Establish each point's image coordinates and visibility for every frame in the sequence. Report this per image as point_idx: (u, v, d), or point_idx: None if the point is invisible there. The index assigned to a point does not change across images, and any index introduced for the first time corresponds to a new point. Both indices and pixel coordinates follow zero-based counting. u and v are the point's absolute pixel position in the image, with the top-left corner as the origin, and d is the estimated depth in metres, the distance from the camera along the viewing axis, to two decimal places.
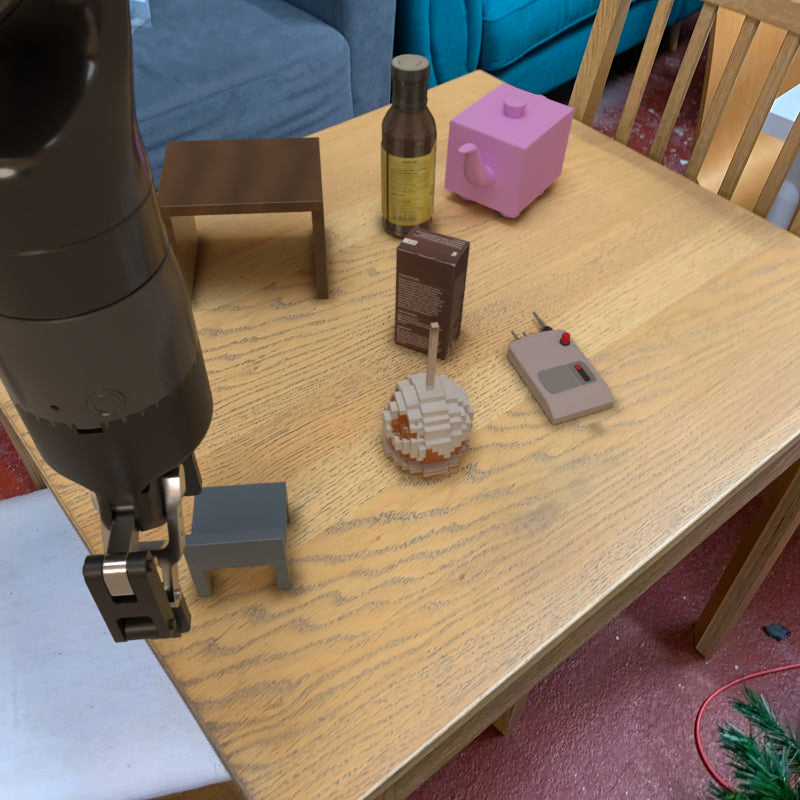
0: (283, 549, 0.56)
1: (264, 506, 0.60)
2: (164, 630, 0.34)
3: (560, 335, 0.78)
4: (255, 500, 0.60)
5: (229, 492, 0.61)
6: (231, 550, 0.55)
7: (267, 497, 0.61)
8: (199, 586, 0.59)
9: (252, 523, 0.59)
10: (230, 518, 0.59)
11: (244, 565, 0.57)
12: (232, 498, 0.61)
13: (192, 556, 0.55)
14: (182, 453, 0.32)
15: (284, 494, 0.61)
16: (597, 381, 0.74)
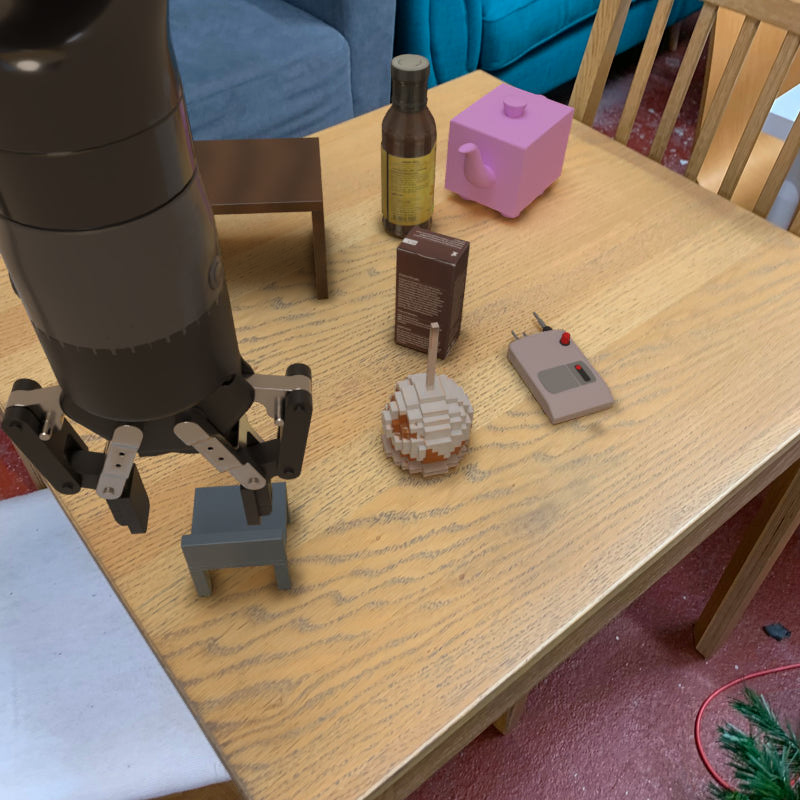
0: (283, 549, 0.56)
1: None
2: None
3: (560, 335, 0.78)
4: None
5: (229, 492, 0.61)
6: (231, 550, 0.55)
7: None
8: (199, 586, 0.59)
9: None
10: (230, 518, 0.59)
11: (244, 565, 0.57)
12: (232, 498, 0.61)
13: (192, 556, 0.55)
14: (71, 397, 0.30)
15: (284, 494, 0.61)
16: (597, 381, 0.74)
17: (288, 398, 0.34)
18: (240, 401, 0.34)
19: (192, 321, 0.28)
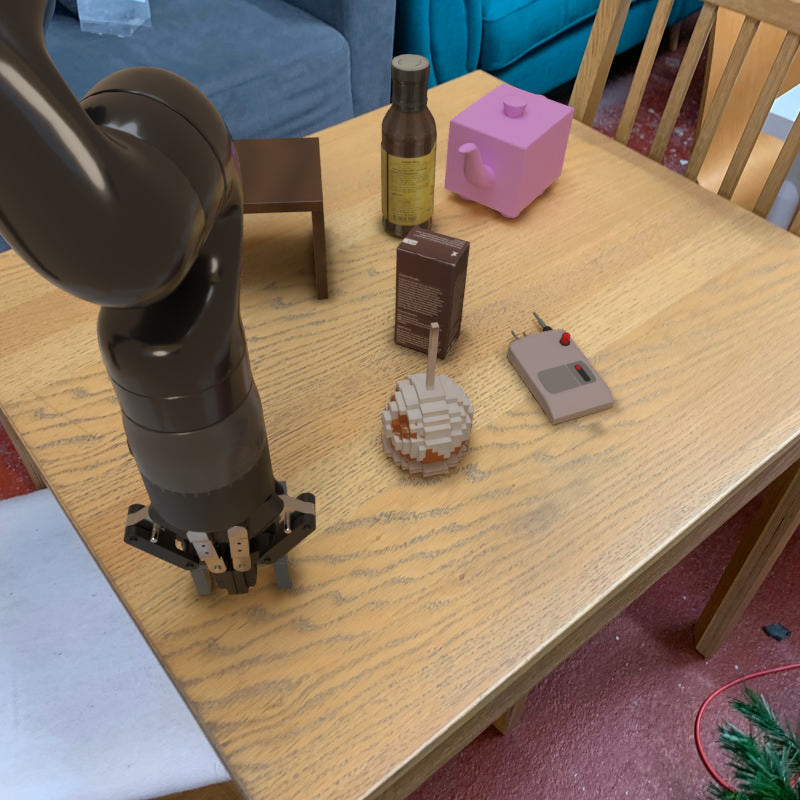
0: None
1: None
2: (177, 564, 0.52)
3: (560, 335, 0.78)
4: None
5: None
6: None
7: None
8: (199, 585, 0.59)
9: None
10: None
11: None
12: None
13: None
14: (162, 516, 0.45)
15: (284, 493, 0.61)
16: (597, 381, 0.74)
17: (302, 518, 0.50)
18: (274, 513, 0.49)
19: (246, 472, 0.43)
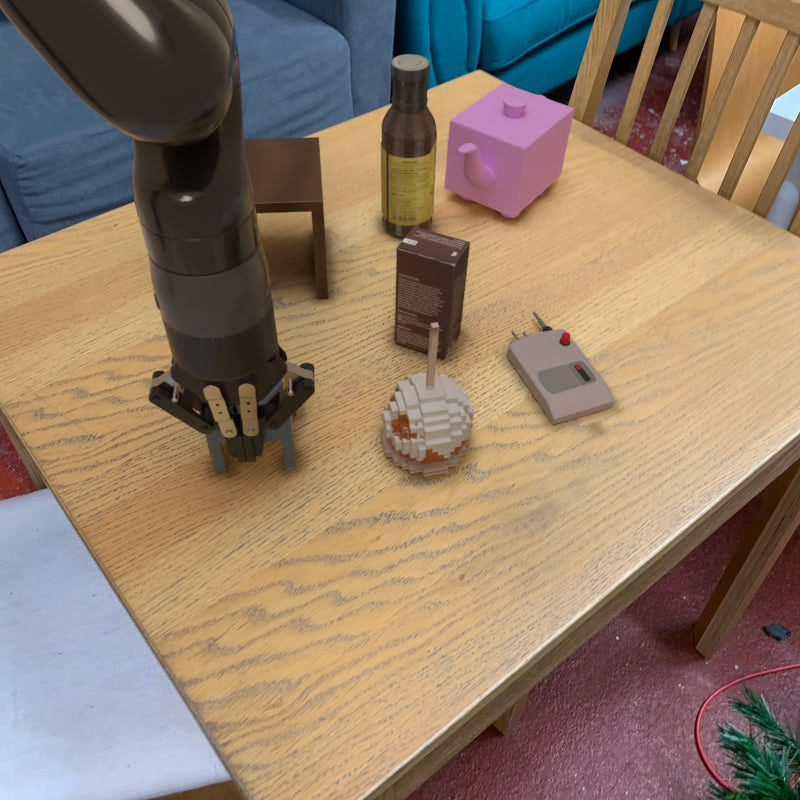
0: (290, 423, 0.64)
1: None
2: None
3: (560, 335, 0.78)
4: None
5: None
6: None
7: (276, 386, 0.69)
8: (216, 461, 0.67)
9: None
10: None
11: None
12: None
13: None
14: (183, 366, 0.53)
15: None
16: (597, 381, 0.74)
17: (303, 381, 0.57)
18: (278, 374, 0.56)
19: (255, 323, 0.50)
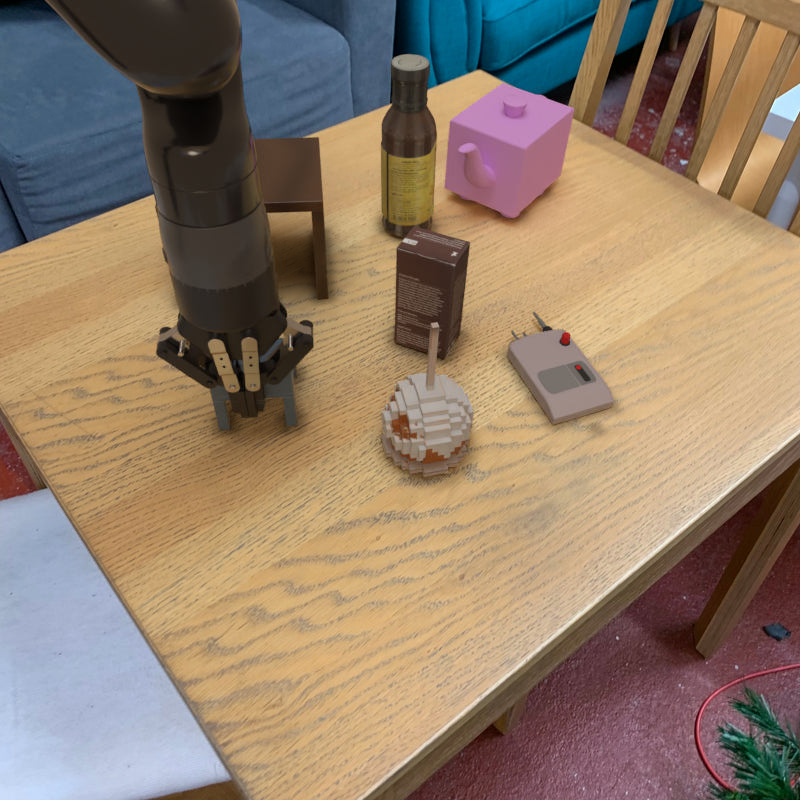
0: (291, 381, 0.67)
1: None
2: None
3: (560, 335, 0.78)
4: None
5: None
6: None
7: None
8: (220, 418, 0.70)
9: None
10: None
11: None
12: None
13: None
14: (189, 319, 0.56)
15: None
16: (597, 381, 0.74)
17: (302, 337, 0.61)
18: (279, 329, 0.59)
19: (257, 276, 0.54)
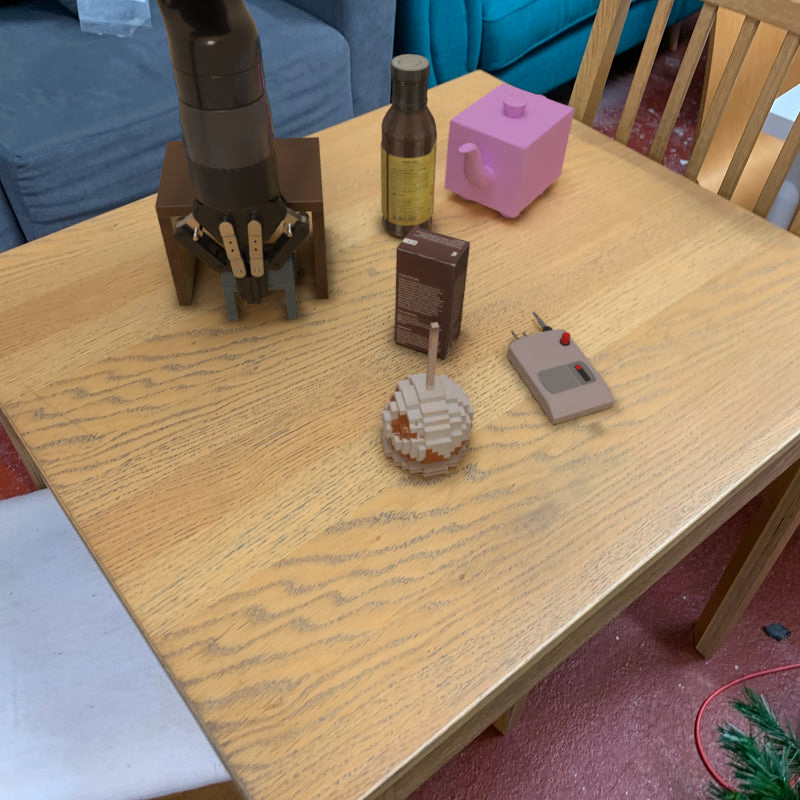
0: (292, 273, 0.77)
1: None
2: None
3: (560, 335, 0.78)
4: None
5: None
6: None
7: None
8: (230, 309, 0.80)
9: None
10: None
11: None
12: None
13: (226, 276, 0.76)
14: (204, 200, 0.65)
15: None
16: (597, 381, 0.74)
17: (300, 224, 0.70)
18: (280, 215, 0.69)
19: (261, 159, 0.63)
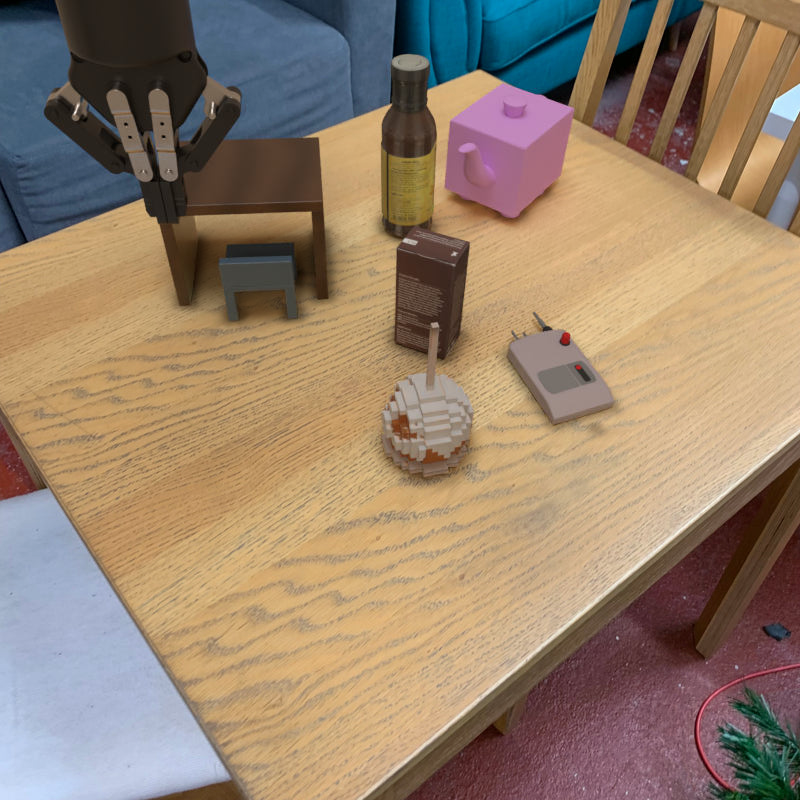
0: (292, 273, 0.77)
1: (278, 255, 0.81)
2: (102, 164, 0.52)
3: (560, 335, 0.78)
4: (271, 252, 0.81)
5: (252, 247, 0.82)
6: (254, 271, 0.76)
7: (280, 250, 0.82)
8: (230, 309, 0.80)
9: None
10: None
11: (263, 288, 0.78)
12: (254, 250, 0.81)
13: (226, 276, 0.76)
14: (78, 49, 0.44)
15: (293, 249, 0.82)
16: (597, 381, 0.74)
17: (226, 100, 0.50)
18: (196, 84, 0.48)
19: None
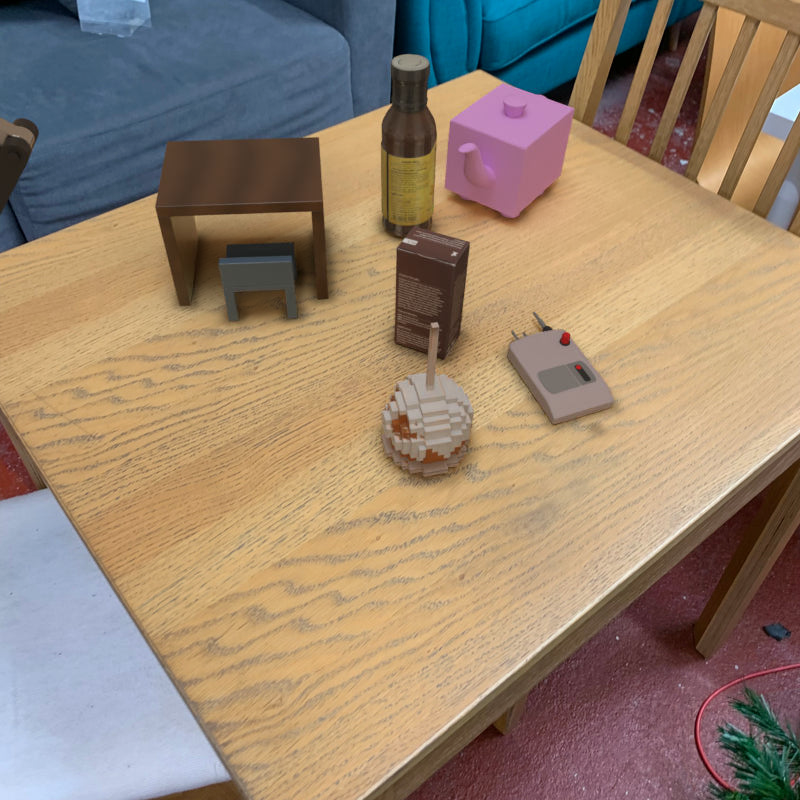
0: (292, 273, 0.77)
1: (278, 255, 0.81)
2: None
3: (560, 335, 0.78)
4: (271, 252, 0.81)
5: (252, 247, 0.82)
6: (254, 271, 0.76)
7: (280, 250, 0.82)
8: (230, 309, 0.80)
9: None
10: None
11: (263, 288, 0.78)
12: (254, 250, 0.81)
13: (226, 276, 0.76)
14: None
15: (293, 249, 0.82)
16: (597, 381, 0.74)
17: (6, 140, 0.36)
18: None
19: None
